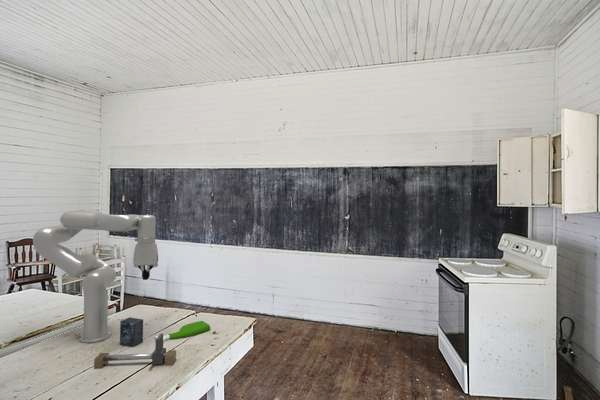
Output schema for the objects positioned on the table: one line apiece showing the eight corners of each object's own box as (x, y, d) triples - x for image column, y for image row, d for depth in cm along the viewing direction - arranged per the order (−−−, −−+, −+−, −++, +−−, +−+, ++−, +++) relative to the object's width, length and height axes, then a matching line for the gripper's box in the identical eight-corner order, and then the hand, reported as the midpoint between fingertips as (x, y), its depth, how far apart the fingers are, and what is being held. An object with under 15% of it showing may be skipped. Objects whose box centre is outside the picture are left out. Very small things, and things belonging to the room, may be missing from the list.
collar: (151, 365, 126) (151, 339, 126) (156, 358, 132) (156, 333, 132) (162, 365, 126) (162, 339, 126) (166, 357, 132) (166, 333, 132)
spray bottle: (211, 331, 161) (162, 347, 144) (201, 325, 169) (153, 339, 152) (211, 325, 161) (162, 340, 144) (201, 319, 169) (153, 333, 152)
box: (119, 344, 144) (119, 321, 144) (129, 339, 149) (130, 316, 149) (133, 347, 142) (133, 323, 142) (143, 342, 147) (143, 319, 147)
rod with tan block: (89, 373, 120) (89, 363, 120) (104, 357, 132) (104, 348, 132) (170, 369, 124) (170, 359, 124) (178, 354, 136) (178, 345, 136)
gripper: (126, 241, 149) (125, 281, 149) (160, 241, 151) (159, 281, 151) (133, 239, 157) (132, 277, 157) (165, 240, 159) (164, 277, 158)
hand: (145, 279), depth 154 cm, fingers closed
